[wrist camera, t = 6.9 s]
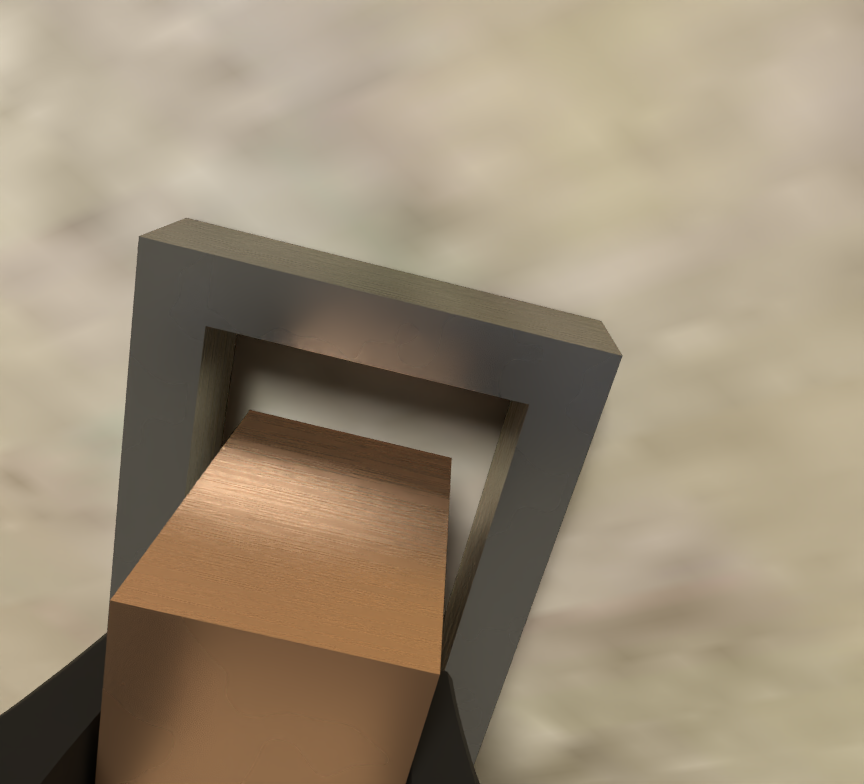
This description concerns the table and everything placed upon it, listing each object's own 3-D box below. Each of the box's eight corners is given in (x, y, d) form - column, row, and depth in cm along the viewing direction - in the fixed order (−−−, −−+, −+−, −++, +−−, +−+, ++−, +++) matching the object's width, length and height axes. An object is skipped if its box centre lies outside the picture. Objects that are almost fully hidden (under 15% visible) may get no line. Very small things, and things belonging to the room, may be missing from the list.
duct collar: (601, 321, 13) (622, 356, 11) (453, 752, 18) (450, 828, 16) (186, 217, 13) (138, 235, 11) (137, 681, 17) (97, 751, 15)
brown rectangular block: (369, 750, 15) (322, 1046, 10) (202, 714, 15) (77, 997, 10) (451, 457, 12) (439, 674, 7) (249, 409, 12) (110, 599, 7)
